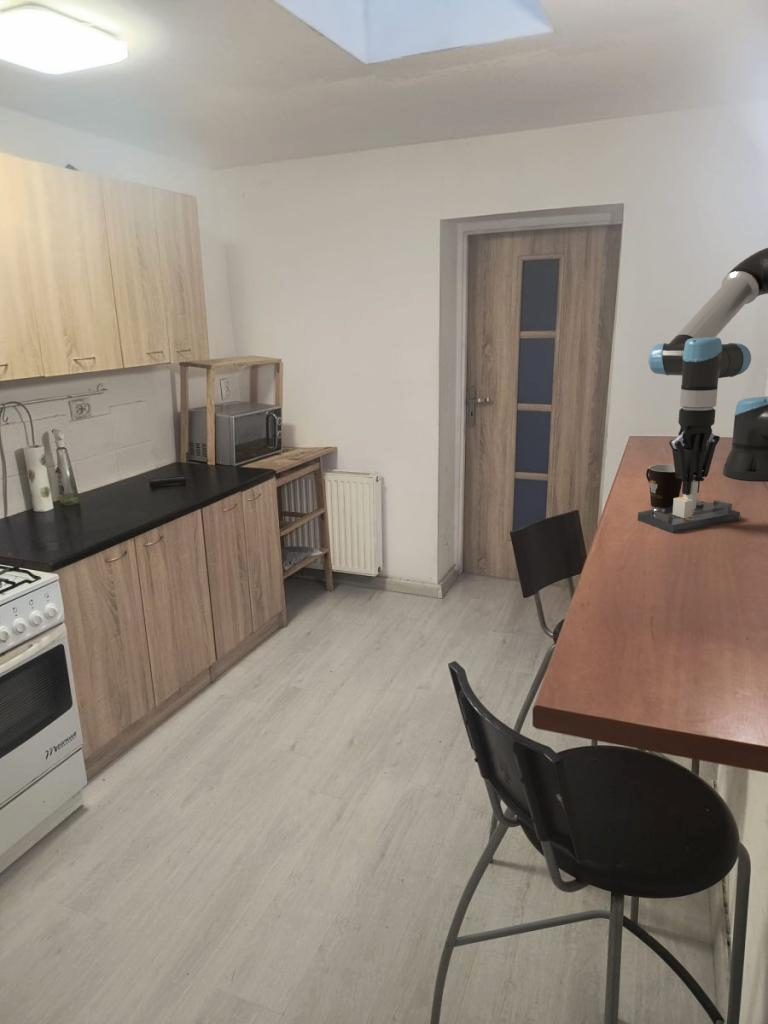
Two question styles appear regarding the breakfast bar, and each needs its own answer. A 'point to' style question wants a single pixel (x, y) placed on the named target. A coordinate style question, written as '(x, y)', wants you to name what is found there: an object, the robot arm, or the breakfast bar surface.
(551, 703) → the breakfast bar surface
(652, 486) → the coffee mug
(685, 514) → the fader knob
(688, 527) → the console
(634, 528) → the breakfast bar surface
